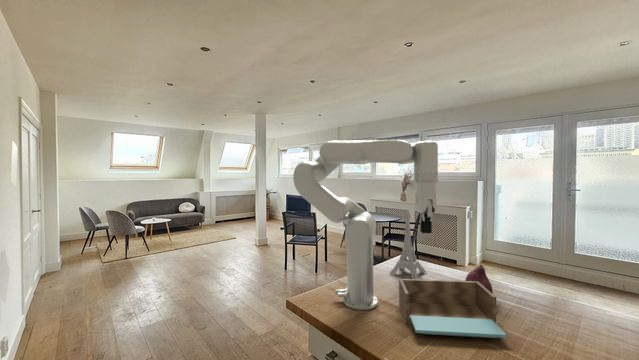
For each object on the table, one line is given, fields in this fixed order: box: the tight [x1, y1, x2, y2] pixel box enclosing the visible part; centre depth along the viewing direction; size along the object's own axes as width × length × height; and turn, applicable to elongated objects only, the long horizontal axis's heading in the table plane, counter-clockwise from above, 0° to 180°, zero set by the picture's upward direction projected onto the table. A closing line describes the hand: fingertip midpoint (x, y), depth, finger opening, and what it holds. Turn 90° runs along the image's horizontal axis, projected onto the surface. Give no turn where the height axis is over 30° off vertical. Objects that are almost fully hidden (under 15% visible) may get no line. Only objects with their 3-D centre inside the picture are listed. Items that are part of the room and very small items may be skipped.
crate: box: [398, 278, 497, 325], centre depth 90 cm, size 27×12×10 cm, turn 83°
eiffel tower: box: [388, 210, 428, 280], centre depth 128 cm, size 13×13×30 cm
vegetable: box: [464, 264, 494, 295], centre depth 101 cm, size 10×10×15 cm
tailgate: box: [410, 315, 507, 339], centre depth 80 cm, size 24×1×8 cm
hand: (425, 232), depth 92 cm, fingers closed
